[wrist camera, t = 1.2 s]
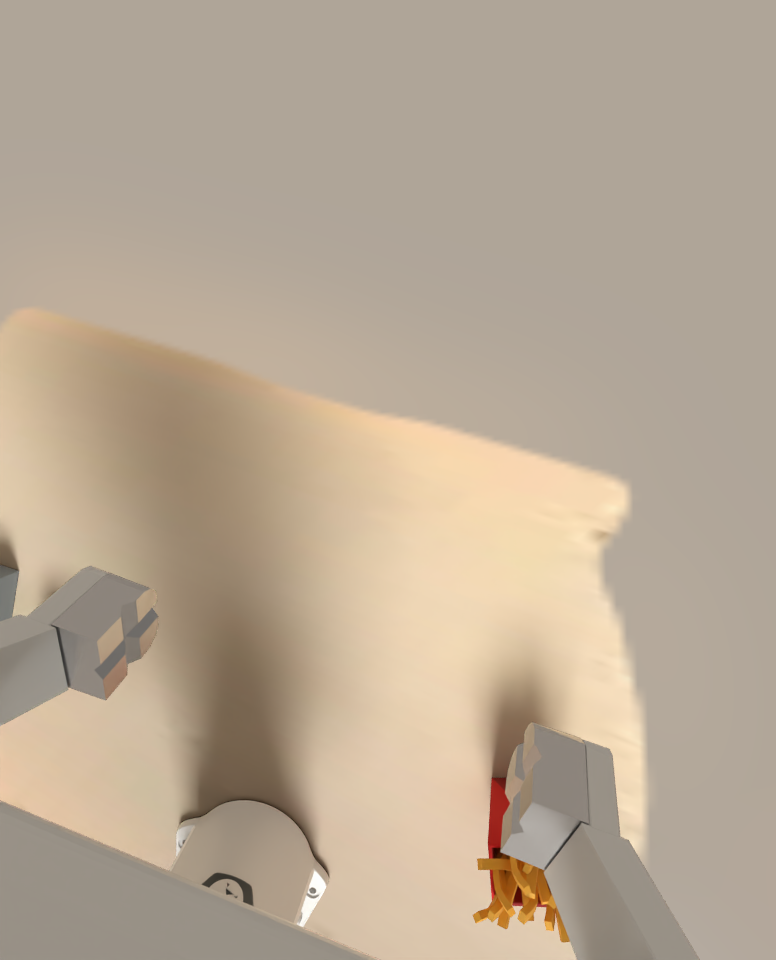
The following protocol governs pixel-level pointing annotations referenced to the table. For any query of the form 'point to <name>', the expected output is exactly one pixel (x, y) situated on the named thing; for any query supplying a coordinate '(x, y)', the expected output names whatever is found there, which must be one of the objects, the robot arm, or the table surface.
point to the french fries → (513, 876)
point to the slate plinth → (7, 591)
